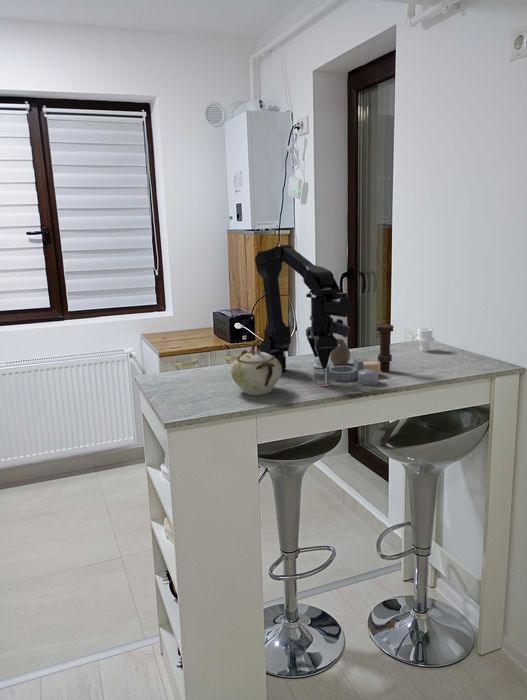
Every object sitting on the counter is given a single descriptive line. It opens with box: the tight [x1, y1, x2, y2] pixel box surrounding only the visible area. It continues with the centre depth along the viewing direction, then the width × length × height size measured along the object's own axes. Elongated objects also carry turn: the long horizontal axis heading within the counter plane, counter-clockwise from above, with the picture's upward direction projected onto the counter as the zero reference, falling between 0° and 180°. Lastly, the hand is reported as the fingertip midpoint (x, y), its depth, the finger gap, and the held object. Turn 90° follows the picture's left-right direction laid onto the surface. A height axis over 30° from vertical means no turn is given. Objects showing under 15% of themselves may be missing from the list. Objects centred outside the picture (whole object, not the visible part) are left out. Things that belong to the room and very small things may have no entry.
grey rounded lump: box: [357, 369, 379, 386], centre depth 179 cm, size 6×6×4 cm
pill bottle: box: [313, 356, 331, 387], centre depth 178 cm, size 5×5×8 cm
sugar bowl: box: [230, 341, 283, 396], centre depth 173 cm, size 20×15×15 cm
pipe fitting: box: [415, 327, 435, 353], centre depth 218 cm, size 6×7×8 cm
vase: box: [329, 338, 351, 366], centre depth 201 cm, size 7×7×9 cm
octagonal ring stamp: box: [329, 357, 380, 382], centre depth 186 cm, size 16×9×5 cm, turn 96°
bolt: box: [376, 323, 394, 373], centre depth 190 cm, size 6×5×15 cm
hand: (321, 364), depth 178 cm, fingers open, 9 cm apart
